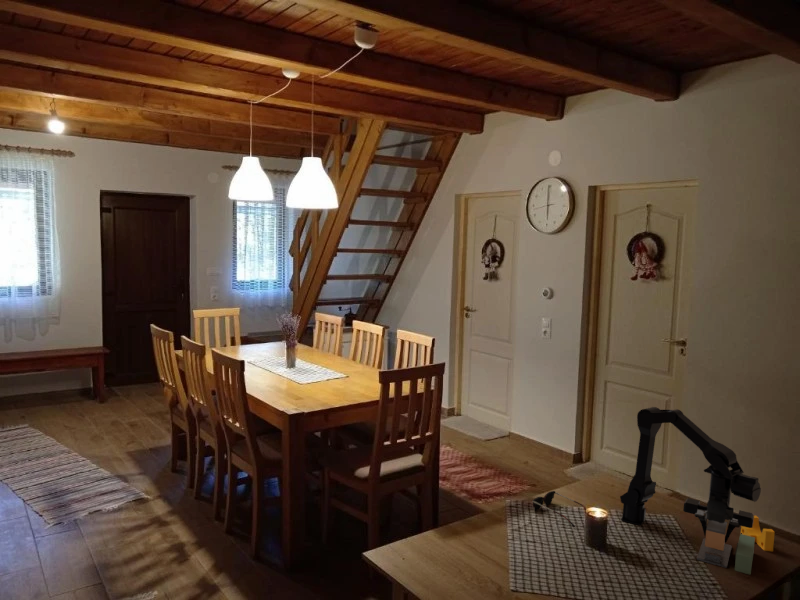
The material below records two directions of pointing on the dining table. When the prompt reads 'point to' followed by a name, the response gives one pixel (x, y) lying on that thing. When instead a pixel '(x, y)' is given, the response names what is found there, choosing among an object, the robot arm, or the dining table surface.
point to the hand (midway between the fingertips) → (715, 539)
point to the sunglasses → (549, 502)
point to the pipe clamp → (760, 535)
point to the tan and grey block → (715, 535)
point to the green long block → (744, 554)
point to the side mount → (714, 555)
